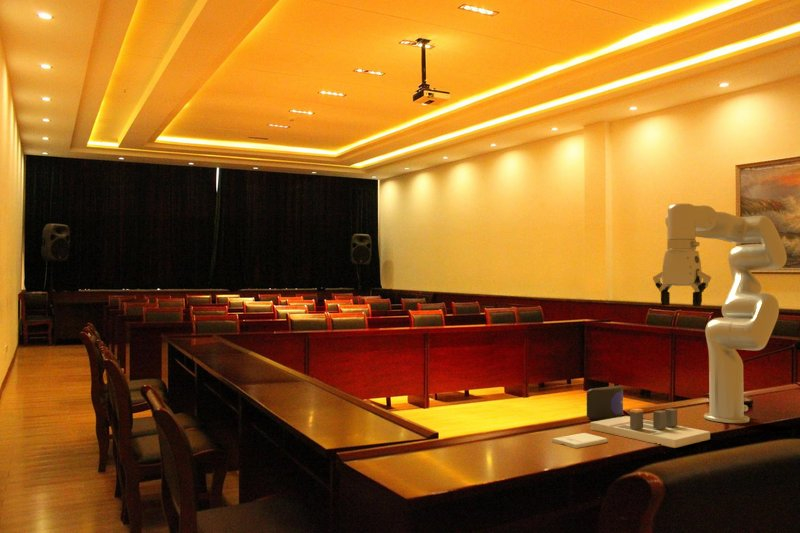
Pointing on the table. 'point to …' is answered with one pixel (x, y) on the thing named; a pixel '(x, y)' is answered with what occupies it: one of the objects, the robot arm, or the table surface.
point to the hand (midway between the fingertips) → (680, 305)
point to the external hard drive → (579, 440)
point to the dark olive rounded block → (605, 402)
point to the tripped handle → (636, 418)
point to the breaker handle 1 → (659, 419)
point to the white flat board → (651, 432)
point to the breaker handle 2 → (671, 417)
